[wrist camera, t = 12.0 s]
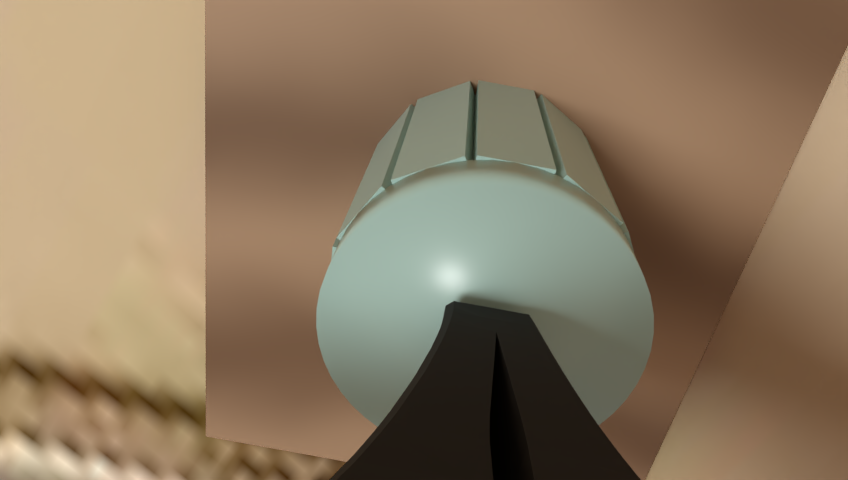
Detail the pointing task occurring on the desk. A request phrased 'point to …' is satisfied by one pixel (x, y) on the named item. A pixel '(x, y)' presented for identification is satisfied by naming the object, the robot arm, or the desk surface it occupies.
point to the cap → (483, 249)
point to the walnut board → (471, 61)
